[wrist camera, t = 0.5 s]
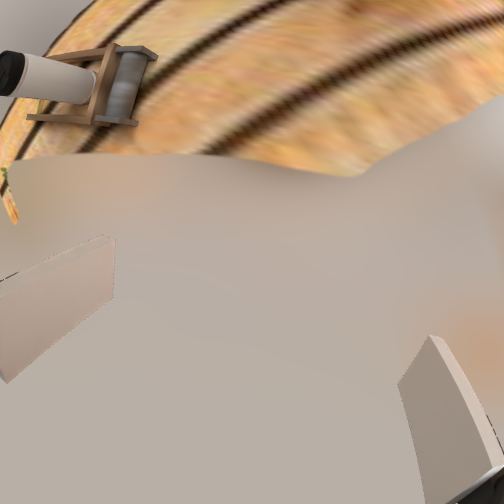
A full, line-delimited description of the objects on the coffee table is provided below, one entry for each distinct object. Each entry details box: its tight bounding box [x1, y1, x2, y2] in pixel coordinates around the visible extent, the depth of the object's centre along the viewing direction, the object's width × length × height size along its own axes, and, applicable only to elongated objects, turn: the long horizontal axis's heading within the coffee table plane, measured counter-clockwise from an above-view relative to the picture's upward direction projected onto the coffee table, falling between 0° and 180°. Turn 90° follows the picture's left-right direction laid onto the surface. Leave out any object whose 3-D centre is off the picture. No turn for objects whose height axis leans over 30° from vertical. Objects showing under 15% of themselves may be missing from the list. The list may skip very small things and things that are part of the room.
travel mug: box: [0, 51, 98, 105], centre depth 26 cm, size 6×7×20 cm
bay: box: [26, 43, 158, 127], centre depth 33 cm, size 13×27×5 cm, turn 74°
